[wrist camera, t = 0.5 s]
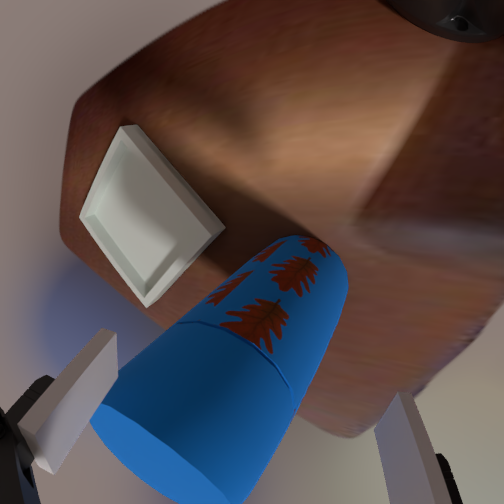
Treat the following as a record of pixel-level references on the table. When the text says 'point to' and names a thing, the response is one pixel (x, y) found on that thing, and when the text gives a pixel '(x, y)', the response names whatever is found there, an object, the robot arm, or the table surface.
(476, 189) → the table surface
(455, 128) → the table surface
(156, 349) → the thermos
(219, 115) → the table surface
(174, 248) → the tray
